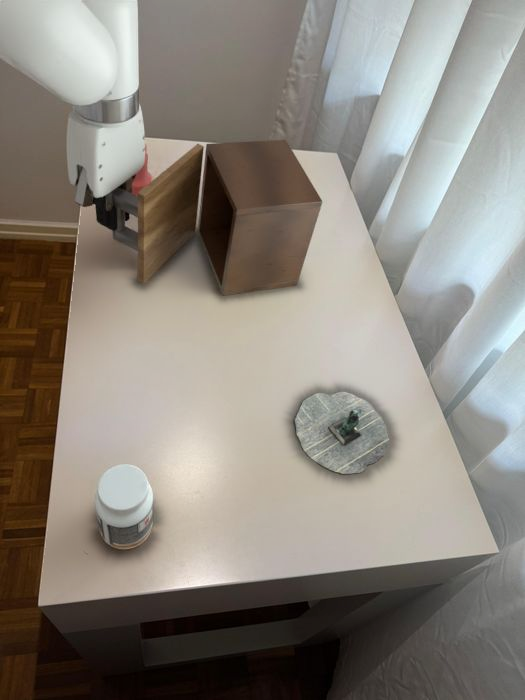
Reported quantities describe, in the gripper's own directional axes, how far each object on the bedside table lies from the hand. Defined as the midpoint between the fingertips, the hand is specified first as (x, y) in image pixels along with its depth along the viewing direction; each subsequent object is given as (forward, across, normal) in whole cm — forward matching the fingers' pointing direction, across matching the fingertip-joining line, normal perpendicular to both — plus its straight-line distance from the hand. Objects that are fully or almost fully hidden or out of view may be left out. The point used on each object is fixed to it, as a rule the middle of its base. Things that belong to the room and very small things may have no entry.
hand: (113, 220), depth 81 cm
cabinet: (+7, -12, +16) cm, 21 cm away
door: (+6, -4, +3) cm, 9 cm away
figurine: (+7, -13, -7) cm, 16 cm away
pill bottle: (+6, +31, +27) cm, 42 cm away
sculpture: (+7, +6, +42) cm, 43 cm away
